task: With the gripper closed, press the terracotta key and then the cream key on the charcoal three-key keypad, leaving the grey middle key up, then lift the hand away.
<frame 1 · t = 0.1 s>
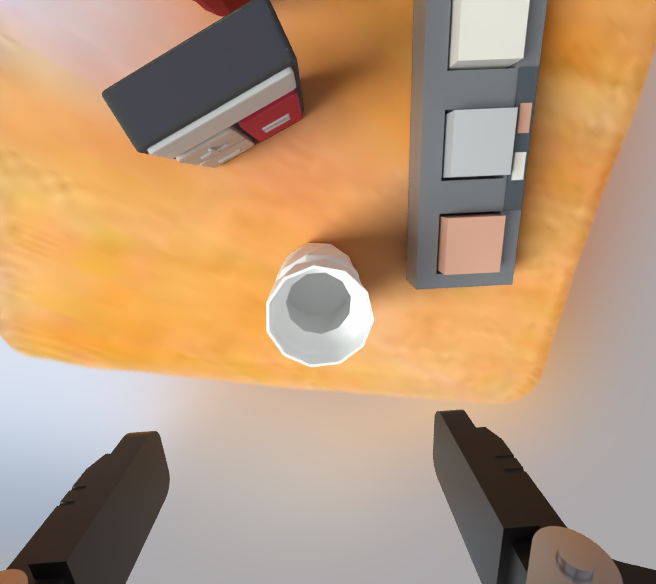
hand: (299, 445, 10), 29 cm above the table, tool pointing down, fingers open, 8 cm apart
red and grey box: (249, 125, 34), on the table
grey key: (475, 145, 31), point 4 cm above the table, slide at 0.0 cm
terracotta key: (467, 243, 34), point 4 cm above the table, slide at 0.0 cm
keypad housing: (458, 149, 35), on the table
cream key: (485, 28, 29), point 4 cm above the table, slide at 0.0 cm
vase: (318, 278, 39), on the table
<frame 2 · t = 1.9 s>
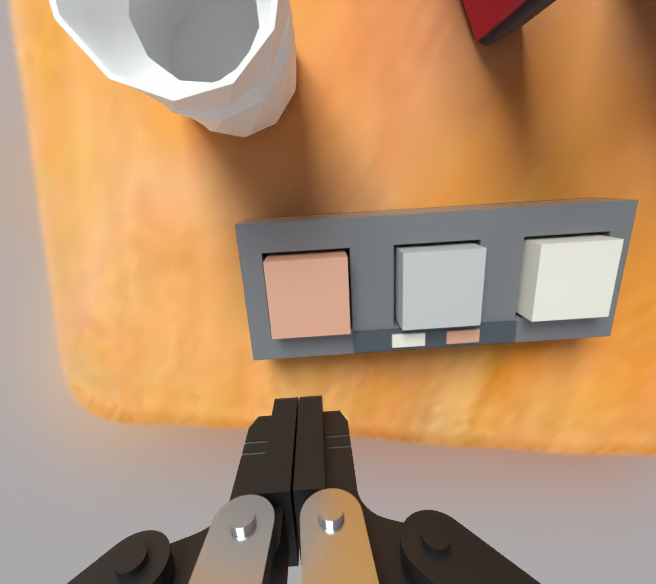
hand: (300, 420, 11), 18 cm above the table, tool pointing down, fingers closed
grey key: (435, 284, 24), point 4 cm above the table, slide at 0.0 cm
terracotta key: (308, 292, 24), point 4 cm above the table, slide at 0.0 cm
keypad housing: (419, 270, 28), on the table
cream key: (561, 276, 25), point 4 cm above the table, slide at 0.0 cm
vase: (235, 70, 24), on the table
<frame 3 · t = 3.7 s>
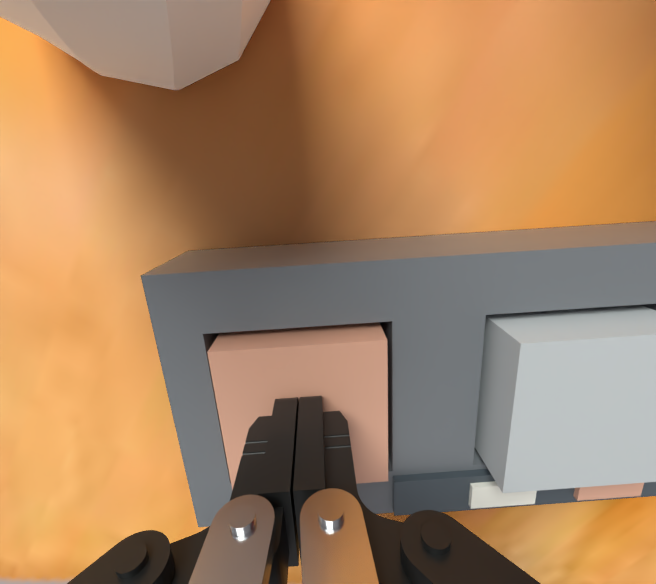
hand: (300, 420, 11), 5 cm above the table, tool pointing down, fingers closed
grey key: (564, 389, 12), point 4 cm above the table, slide at 0.0 cm
terracotta key: (305, 394, 13), point 3 cm above the table, slide at 0.8 cm, touching gripper
keypad housing: (504, 339, 16), on the table
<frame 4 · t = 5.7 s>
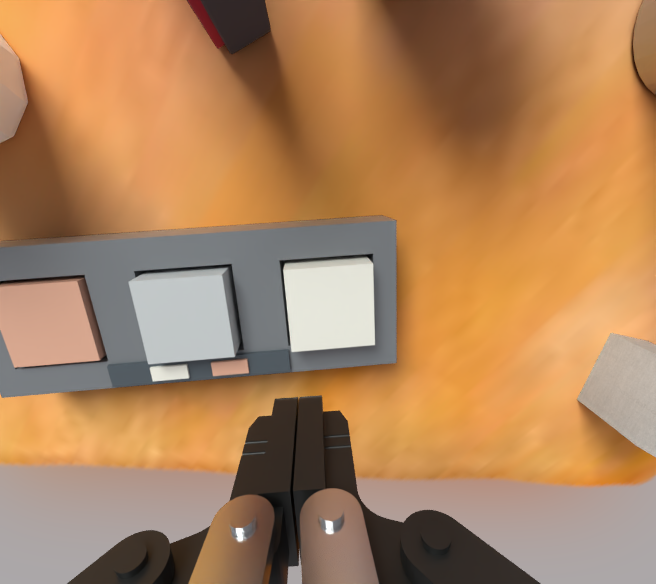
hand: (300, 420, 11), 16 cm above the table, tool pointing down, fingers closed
grey key: (191, 312, 22), point 4 cm above the table, slide at 0.0 cm
pale grey block: (609, 369, 31), on the table
terracotta key: (60, 317, 23), point 3 cm above the table, slide at 1.2 cm
keypad housing: (207, 294, 26), on the table
cream key: (329, 301, 23), point 4 cm above the table, slide at 0.0 cm
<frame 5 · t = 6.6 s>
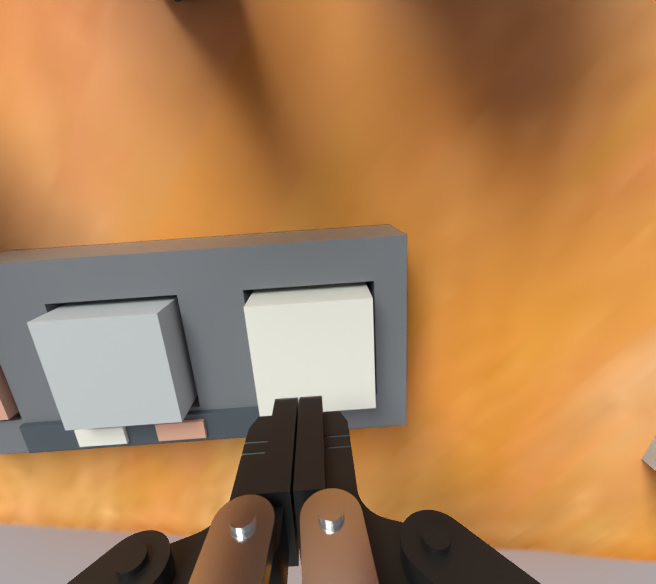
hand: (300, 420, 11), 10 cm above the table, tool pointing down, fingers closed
grey key: (126, 358, 17), point 4 cm above the table, slide at 0.0 cm
keypad housing: (162, 325, 20), on the table
cream key: (313, 345, 17), point 4 cm above the table, slide at 0.0 cm
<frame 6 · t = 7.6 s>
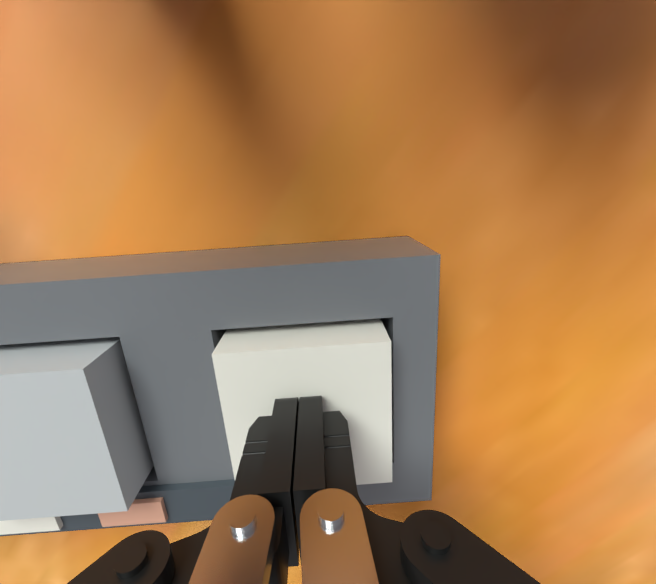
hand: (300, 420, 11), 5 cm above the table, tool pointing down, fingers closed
grey key: (54, 420, 12), point 4 cm above the table, slide at 0.0 cm
keypad housing: (117, 363, 16), on the table
cream key: (309, 395, 13), point 4 cm above the table, slide at 0.4 cm, touching gripper
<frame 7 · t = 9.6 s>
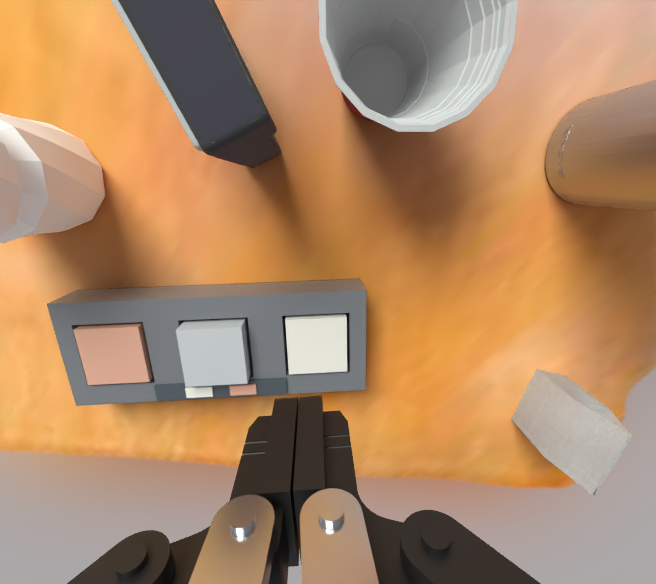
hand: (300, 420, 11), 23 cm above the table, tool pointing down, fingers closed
red and grey box: (235, 98, 29), on the table
grey key: (217, 349, 31), point 4 cm above the table, slide at 0.0 cm
pale grey block: (536, 396, 40), on the table
terracotta key: (121, 348, 32), point 3 cm above the table, slide at 1.2 cm
keypad housing: (227, 331, 35), on the table
cream key: (316, 339, 33), point 3 cm above the table, slide at 1.2 cm
vase: (56, 179, 30), on the table
plastic cup: (377, 82, 29), on the table
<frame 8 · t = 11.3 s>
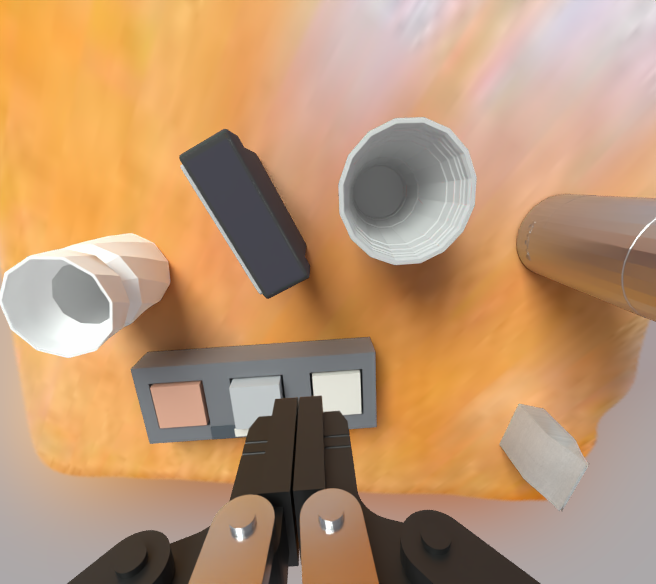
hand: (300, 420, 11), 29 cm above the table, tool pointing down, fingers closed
red and grey box: (270, 207, 37), on the table
grey key: (259, 399, 40), point 4 cm above the table, slide at 0.0 cm
pale grey block: (520, 425, 47), on the table
terracotta key: (183, 398, 41), point 3 cm above the table, slide at 1.2 cm
keypad housing: (263, 380, 43), on the table
cream key: (336, 388, 41), point 3 cm above the table, slide at 1.2 cm
vase: (133, 271, 39), on the table
plastic cup: (380, 191, 37), on the table
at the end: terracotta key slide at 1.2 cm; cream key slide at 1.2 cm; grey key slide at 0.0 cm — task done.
